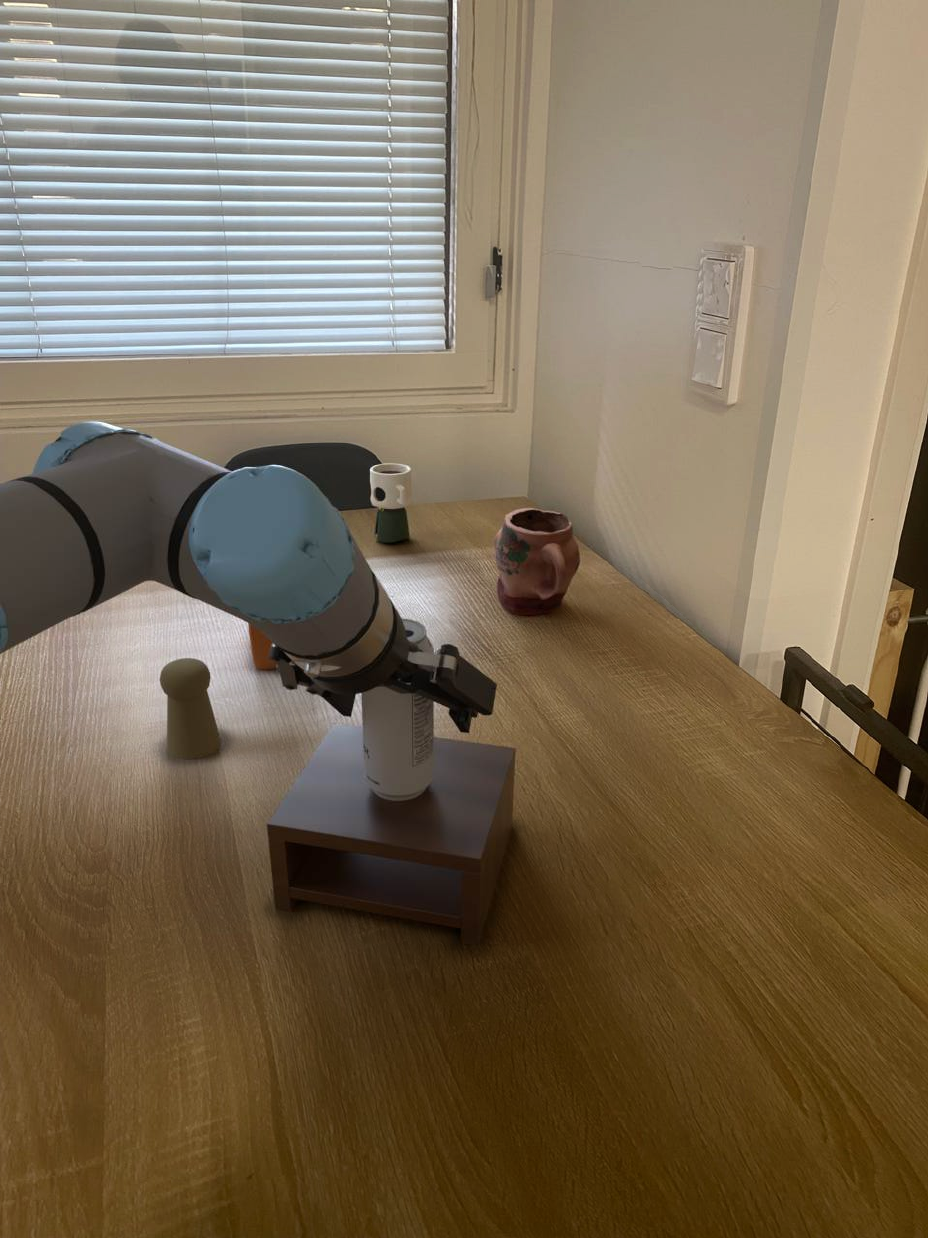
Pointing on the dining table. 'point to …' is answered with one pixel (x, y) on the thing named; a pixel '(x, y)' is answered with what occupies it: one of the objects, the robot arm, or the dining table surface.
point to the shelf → (396, 835)
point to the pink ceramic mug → (535, 560)
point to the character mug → (391, 500)
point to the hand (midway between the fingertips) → (408, 709)
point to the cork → (189, 709)
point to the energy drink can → (399, 735)
